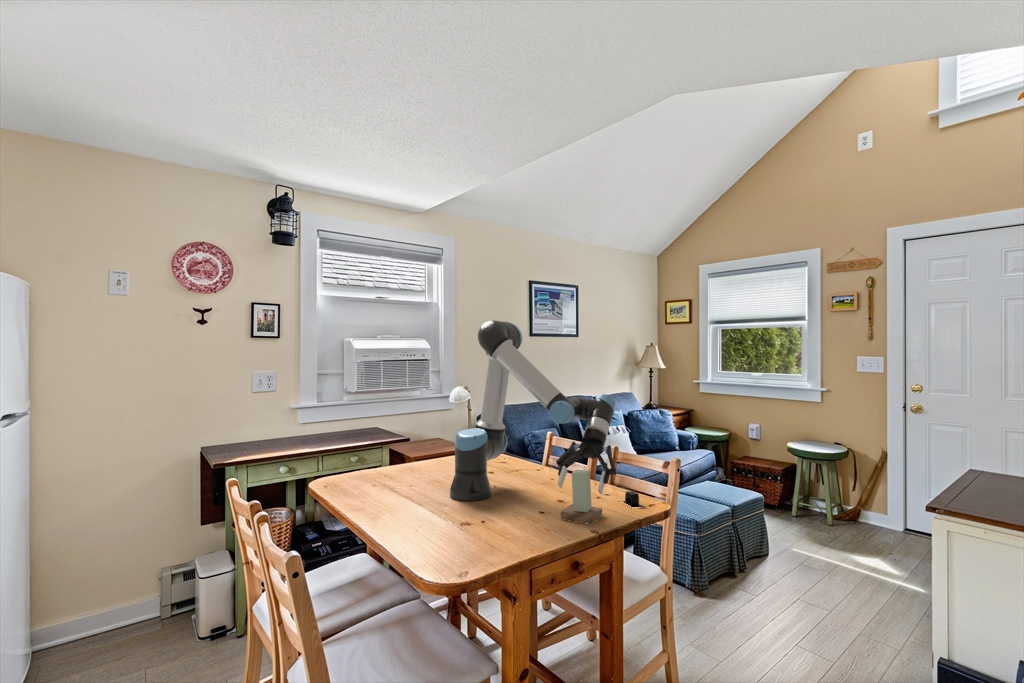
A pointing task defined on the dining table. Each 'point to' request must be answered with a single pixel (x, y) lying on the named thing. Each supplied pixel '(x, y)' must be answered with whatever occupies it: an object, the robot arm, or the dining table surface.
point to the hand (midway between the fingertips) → (579, 488)
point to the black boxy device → (632, 499)
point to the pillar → (581, 490)
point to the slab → (581, 515)
